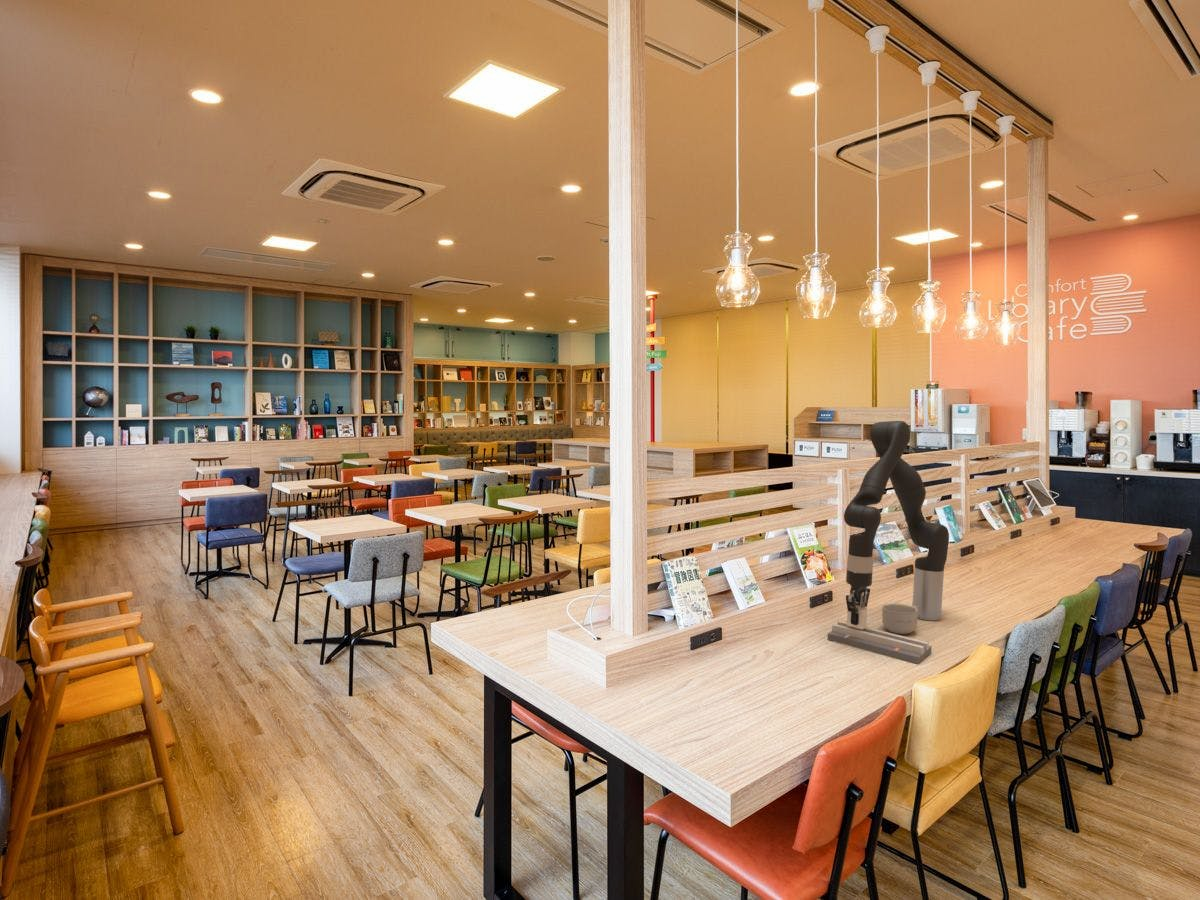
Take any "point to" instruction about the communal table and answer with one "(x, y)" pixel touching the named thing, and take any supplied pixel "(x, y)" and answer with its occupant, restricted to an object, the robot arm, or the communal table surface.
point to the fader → (862, 619)
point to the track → (878, 648)
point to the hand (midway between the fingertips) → (856, 622)
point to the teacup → (900, 618)
